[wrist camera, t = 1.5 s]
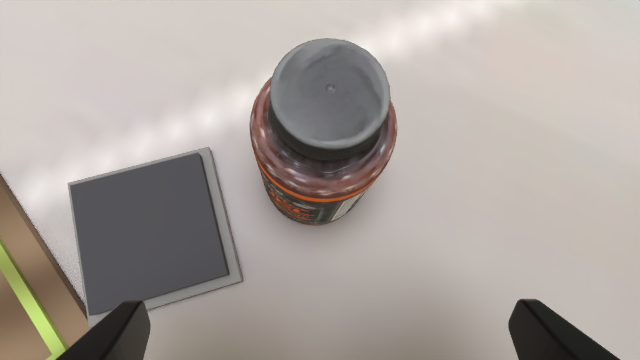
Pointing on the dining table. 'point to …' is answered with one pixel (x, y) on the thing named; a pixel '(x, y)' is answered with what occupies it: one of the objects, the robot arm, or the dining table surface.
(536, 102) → the dining table surface
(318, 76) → the supplement bottle
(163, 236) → the pad
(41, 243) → the board
